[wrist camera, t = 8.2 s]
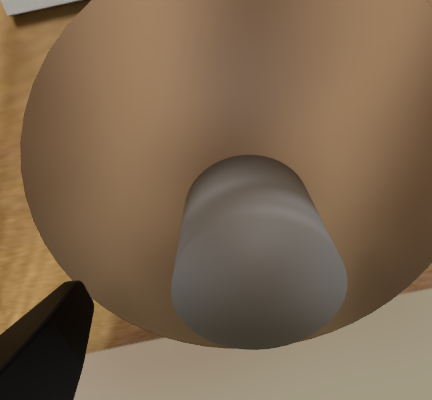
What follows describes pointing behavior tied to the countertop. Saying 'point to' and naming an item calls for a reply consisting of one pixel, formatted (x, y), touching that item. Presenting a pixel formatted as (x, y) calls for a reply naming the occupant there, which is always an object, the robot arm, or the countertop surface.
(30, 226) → the countertop surface
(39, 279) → the countertop surface
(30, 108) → the lid
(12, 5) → the mat
